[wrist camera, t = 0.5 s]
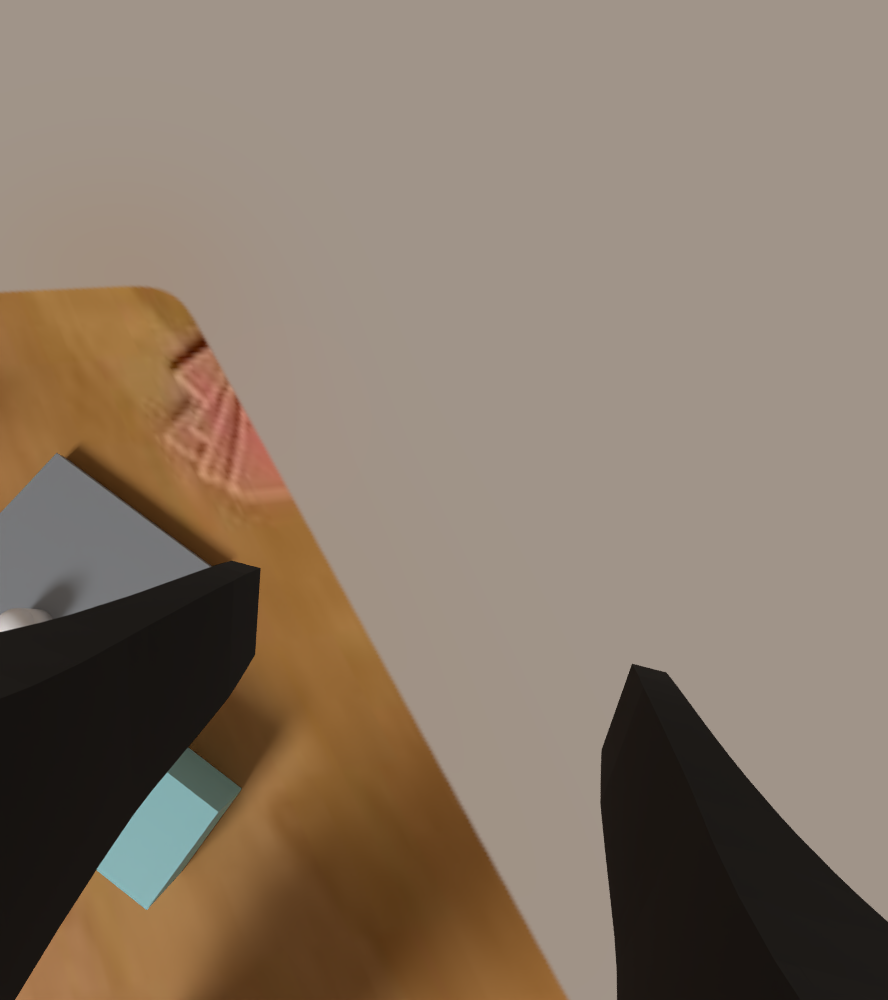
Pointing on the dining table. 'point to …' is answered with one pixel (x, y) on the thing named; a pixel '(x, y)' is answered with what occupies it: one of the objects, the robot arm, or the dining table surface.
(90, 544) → the pin board
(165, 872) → the teal cube
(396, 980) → the dining table surface
